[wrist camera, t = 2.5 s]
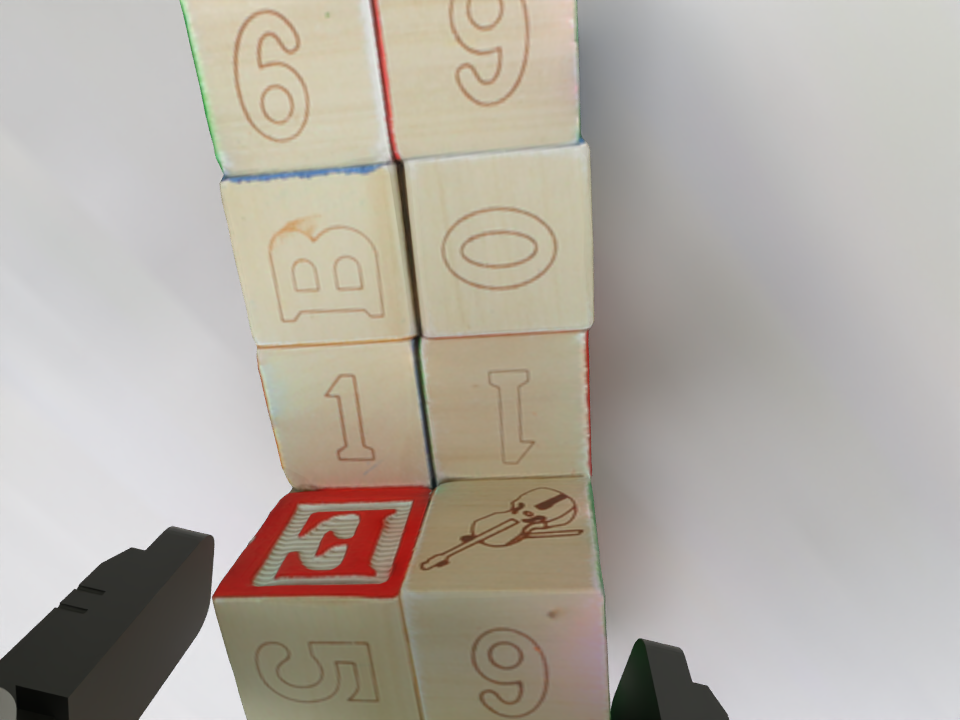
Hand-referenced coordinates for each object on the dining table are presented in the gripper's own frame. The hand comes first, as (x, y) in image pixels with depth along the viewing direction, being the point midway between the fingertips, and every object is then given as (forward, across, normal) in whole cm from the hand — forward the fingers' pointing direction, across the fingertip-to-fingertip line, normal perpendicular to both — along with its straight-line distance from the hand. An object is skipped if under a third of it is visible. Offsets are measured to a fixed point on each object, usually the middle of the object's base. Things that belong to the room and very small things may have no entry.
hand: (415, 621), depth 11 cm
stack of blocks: (+11, 0, -1) cm, 11 cm away
